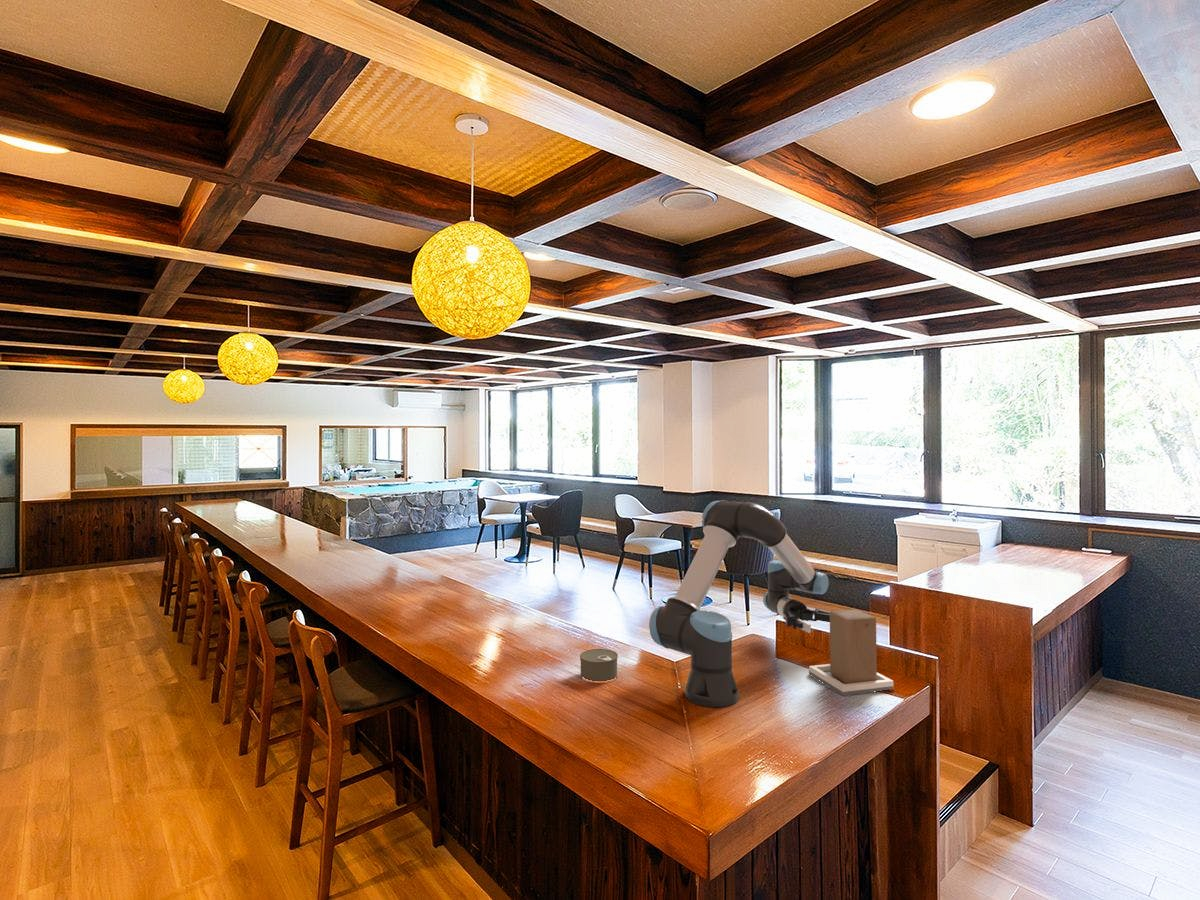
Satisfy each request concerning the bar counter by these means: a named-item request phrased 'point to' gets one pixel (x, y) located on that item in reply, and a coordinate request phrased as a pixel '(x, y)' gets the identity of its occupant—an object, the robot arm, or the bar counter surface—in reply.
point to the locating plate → (849, 689)
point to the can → (599, 664)
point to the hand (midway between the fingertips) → (828, 627)
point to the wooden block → (853, 646)
